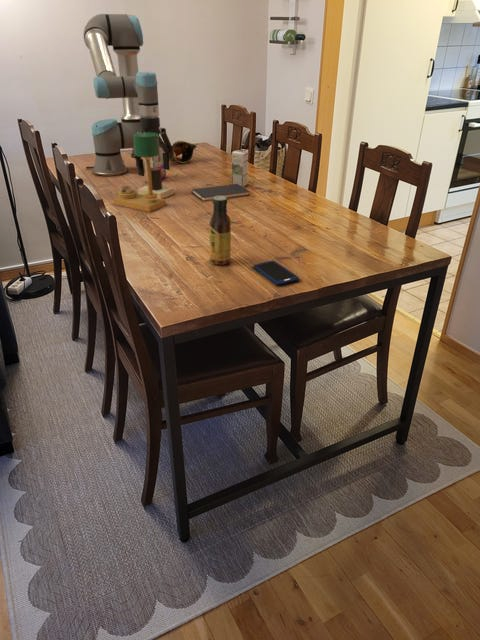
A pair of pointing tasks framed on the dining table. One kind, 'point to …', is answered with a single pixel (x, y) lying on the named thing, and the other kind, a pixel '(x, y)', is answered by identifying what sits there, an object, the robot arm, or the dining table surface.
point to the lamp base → (138, 201)
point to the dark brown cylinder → (156, 178)
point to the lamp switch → (126, 190)
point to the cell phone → (276, 272)
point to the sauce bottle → (220, 232)
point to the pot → (182, 151)
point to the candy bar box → (157, 163)
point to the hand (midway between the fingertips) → (154, 172)
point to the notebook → (220, 191)
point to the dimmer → (157, 191)
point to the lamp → (147, 154)
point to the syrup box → (240, 167)
